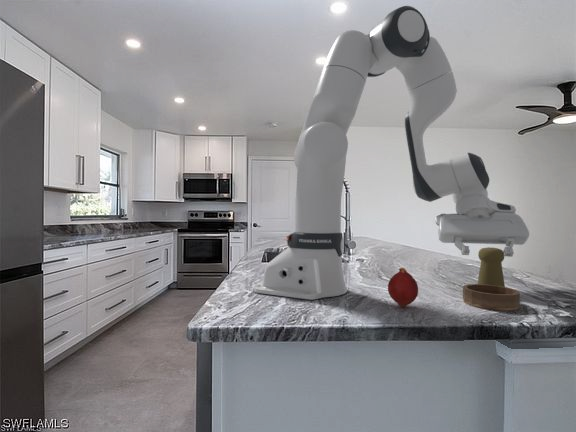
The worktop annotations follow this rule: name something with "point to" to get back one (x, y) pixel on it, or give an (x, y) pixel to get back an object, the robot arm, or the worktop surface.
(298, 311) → the worktop surface
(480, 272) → the cork
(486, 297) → the spice holder
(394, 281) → the onion
